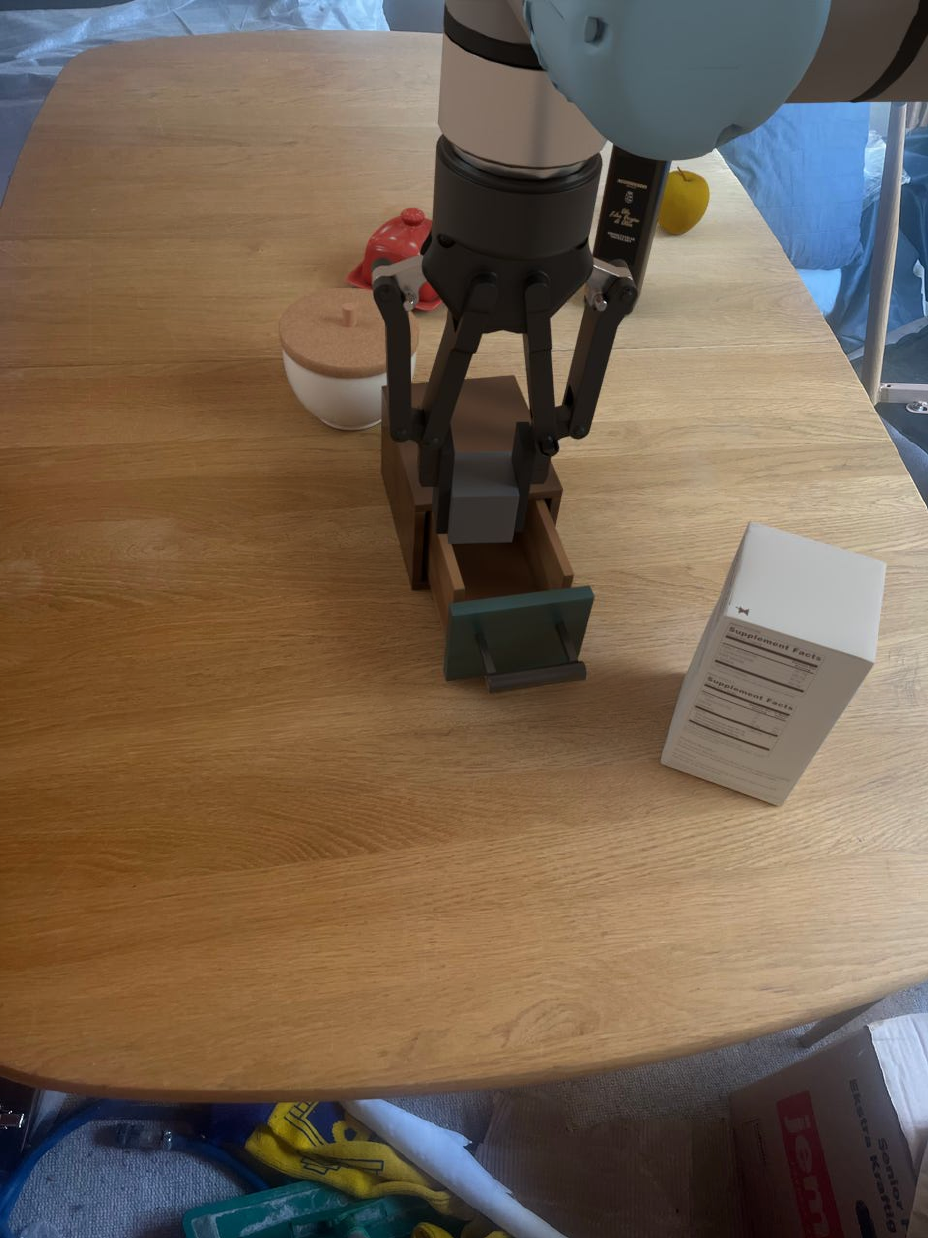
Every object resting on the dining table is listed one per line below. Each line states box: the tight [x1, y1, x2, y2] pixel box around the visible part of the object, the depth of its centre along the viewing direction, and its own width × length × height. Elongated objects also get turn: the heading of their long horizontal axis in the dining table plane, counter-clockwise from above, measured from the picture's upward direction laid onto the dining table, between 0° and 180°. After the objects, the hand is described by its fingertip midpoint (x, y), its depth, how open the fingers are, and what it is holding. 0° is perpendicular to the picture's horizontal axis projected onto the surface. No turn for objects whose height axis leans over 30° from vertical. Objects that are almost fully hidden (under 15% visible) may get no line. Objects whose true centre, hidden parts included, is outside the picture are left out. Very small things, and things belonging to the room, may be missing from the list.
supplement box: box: [660, 520, 888, 807], centre depth 65 cm, size 10×9×17 cm
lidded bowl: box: [278, 287, 420, 431], centre depth 89 cm, size 13×13×11 cm
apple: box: [657, 165, 711, 235], centre depth 117 cm, size 6×6×8 cm
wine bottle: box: [583, 143, 673, 316], centre depth 97 cm, size 6×6×30 cm
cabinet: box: [380, 374, 564, 591], centre depth 81 cm, size 15×12×10 cm
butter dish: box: [345, 207, 443, 312], centre depth 105 cm, size 12×12×8 cm
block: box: [447, 451, 519, 544], centre depth 59 cm, size 4×4×4 cm
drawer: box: [423, 499, 595, 695], centre depth 73 cm, size 18×10×8 cm, turn 13°
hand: (477, 517), depth 60 cm, fingers closed on block, 4 cm apart
